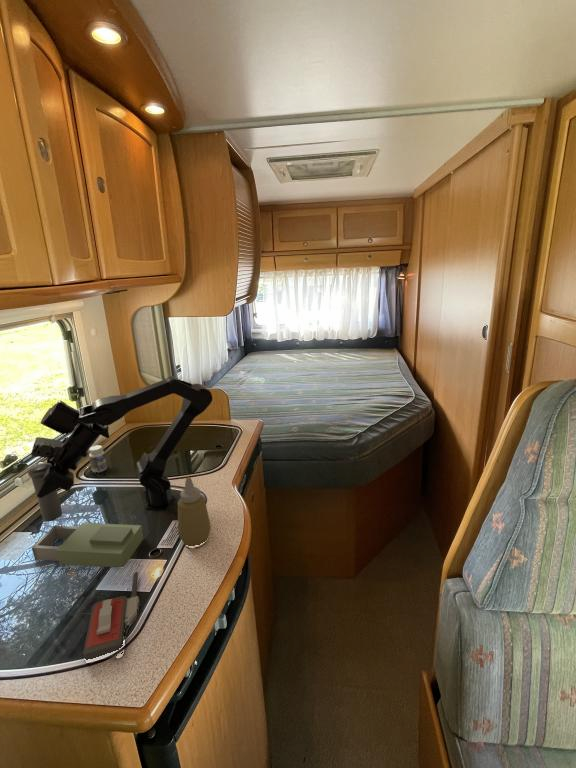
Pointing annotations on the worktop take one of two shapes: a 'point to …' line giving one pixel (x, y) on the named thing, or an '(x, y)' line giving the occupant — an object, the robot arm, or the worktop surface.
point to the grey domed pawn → (49, 502)
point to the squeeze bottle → (192, 516)
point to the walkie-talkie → (110, 623)
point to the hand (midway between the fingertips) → (39, 492)
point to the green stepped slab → (90, 544)
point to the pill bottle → (97, 459)
